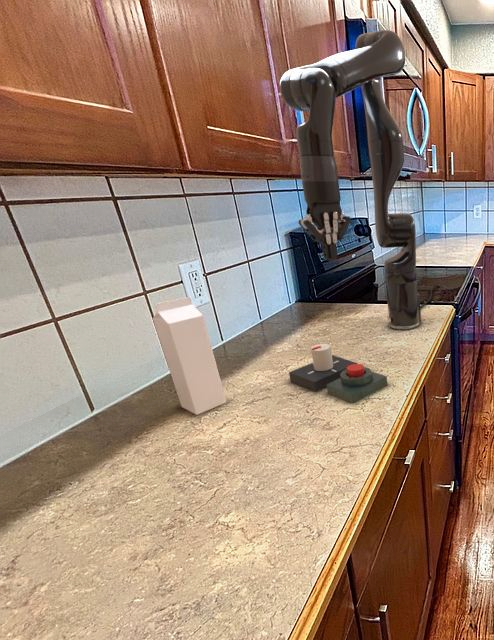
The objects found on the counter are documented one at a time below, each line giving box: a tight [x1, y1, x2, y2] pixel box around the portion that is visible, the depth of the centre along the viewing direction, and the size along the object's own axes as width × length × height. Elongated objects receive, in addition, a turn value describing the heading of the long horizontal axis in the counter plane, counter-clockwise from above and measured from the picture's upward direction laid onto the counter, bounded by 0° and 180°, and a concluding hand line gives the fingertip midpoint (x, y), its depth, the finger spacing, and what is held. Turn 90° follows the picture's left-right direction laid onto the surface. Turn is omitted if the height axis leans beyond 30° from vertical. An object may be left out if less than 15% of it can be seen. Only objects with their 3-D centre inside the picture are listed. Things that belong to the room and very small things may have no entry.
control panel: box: [288, 354, 358, 393], centre depth 97 cm, size 12×9×3 cm
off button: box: [347, 363, 365, 377], centre depth 90 cm, size 4×4×2 cm
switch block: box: [326, 366, 389, 404], centre depth 91 cm, size 10×8×4 cm
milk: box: [152, 296, 227, 416], centre depth 81 cm, size 6×6×22 cm
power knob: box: [310, 343, 333, 371], centre depth 96 cm, size 4×4×5 cm
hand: (331, 260), depth 98 cm, fingers closed
